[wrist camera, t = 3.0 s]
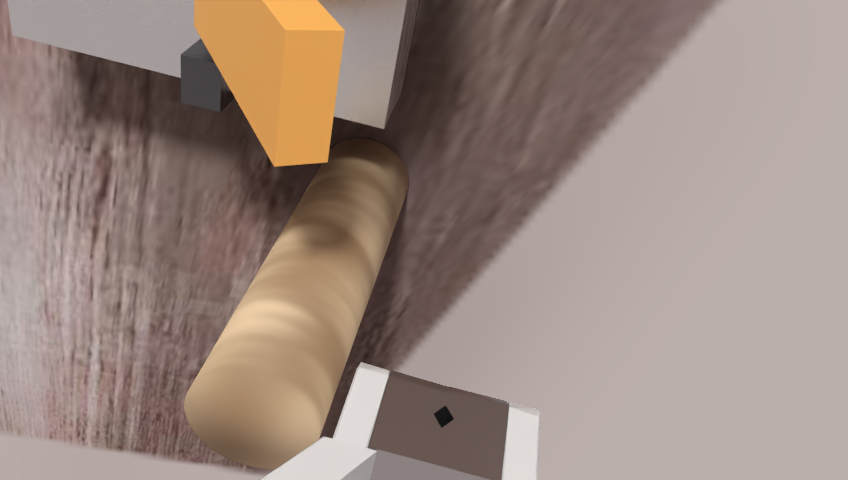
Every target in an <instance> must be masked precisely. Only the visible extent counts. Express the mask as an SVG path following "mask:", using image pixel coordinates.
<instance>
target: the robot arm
mask: <svg viewBox="0 0 848 480" xmlns="http://www.w3.org/2000/svg"><path fill="white" fill-rule="evenodd" d="M539 430H540V413H539V411H538V409H534V408H531V407H527V406H523V405H519V404H515V403H511V402H508V403H507V402H506V401H504V400H500V399H496V398H492V397H488V396H484V395H480V394H476V393H472V392H468V391H464V390H460V389H456V388H453V387H447V386H443V385H440V384H436V383H433V382H429V381H426V380H422V379H419V378H416V377H413V376H409V375H406V374H402V373H399V372H395V371H392V370H391V372H390V370H386V369H383V368H380V367H376V366H373V365H369V364H366V363H363V362H361V363H360V365H359V366H358V368H357V370H356V373H355V376H354V379H353V381H352V384H351V387H350V390H349V393H348V396H347V398H346V401H345V404H344V407H343V410H342V413H341V416H340V418H339V421H338V424H337V427H336V430H335V433H334V435H333V438H328V437H324V436H323V437H322V438H321V439H319V440H318V441H316V442H315V443H313V444H312V445H310V446H309V447H307V448H306V449H304V450H303V451H302V452H300V453H299V454H297V455H296V456H294V457H293V458H291V459H290V460H288V461H287V462H285V463H284V464H283V465H281V466H280V467H278V468H277V469H275V470H274V471H272V472H271V473H269V474H268V475H266V476H265V477H264V478H262V479H261V480H537V475H538V452H539Z"/></svg>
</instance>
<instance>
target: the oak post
mask: <svg viewBox="0 0 848 480" xmlns="http://www.w3.org/2000/svg"><path fill="white" fill-rule="evenodd" d="M408 186H409V178H408V173H407V169H406V167H405V165H404V163H403V161H402V160H401V158H400V157H399V156H398V155H397V154H396V153H395V152H394V151H393V150H392V149H391V148H389V147H388V146H386V145H384V144H383V143H380V142H378V141H375V140H372V139H367V138H353V139H348V140H345V141H342V142H340V143H338V144H337V145H335V146H334V147H333V148H332V149H331V150H330V151H329V156H328V162H326V163H322V164H321V166H320V167H319V169H318V171H317V173H316V174H315V176H314V178H313V179H312V181H311V183H310V185H309V186H308V188H307V190H306V191H305V193H304V195H303V196H302V198H301V200H300V202H299V203H298V205H297V207H296V208H295V210H294V212H293V213H292V215H291V217H290V219H289V220H288V222H287V224H286V225H285V227H284V229H283V231H282V232H281V234H280V236H279V237H278V239H277V241H276V242H275V244H274V246H273V248H272V249H271V251H270V253H269V254H268V256H267V258H266V259H265V261H264V263H263V265H262V266H261V268H260V270H259V271H258V273H257V275H256V277H255V278H254V280H253V282H252V283H251V285H250V287H249V288H248V290H247V292H246V294H245V295H244V297H243V299H242V300H241V302H240V304H239V305H238V307H237V309H236V311H235V312H234V314H233V316H232V317H231V319H230V321H229V323H228V324H227V326H226V328H225V329H224V331H223V333H222V334H221V336H220V338H219V340H218V341H217V343H216V345H215V346H214V348H213V350H212V351H211V353H210V355H209V357H208V358H207V360H206V362H205V363H204V365H203V367H202V369H201V370H200V372H199V374H198V375H197V377H196V379H195V380H194V382H193V384H192V386H191V387H190V389H189V391H188V393H187V394H186V398H185V403H184V409H185V414H186V418H187V420H188V423H189V425H190V426H191V428H192V430H193V431H194V432H195V434H196V435H197V436H198V437H199V438H200V439H201V440H202V441H203V442H204V443H205V444H206V445H207V446H208V447H210V448H211V449H213V450H214V451H215V452H217V453H219V454H220V455H222V456H224V457H226V458H228V459H230V460H232V461H235V462H237V463H240V464H243V465H246V466H250V467H255V468H262V469H277V468H278V467H280V466H281V465H283V464H284V463H285V462H287V461H288V460H290V459H291V458H293V457H294V456H296V455H297V454H299V453H300V452H302V451H303V450H304V449H306V448H307V447H309V446H310V445H312V444H313V443H315V442H316V441H318V440H319V438H320V435H321V432H322V429H323V426H324V424H325V421H326V418H327V415H328V412H329V410H330V407H331V404H332V401H333V398H334V396H335V393H336V390H337V387H338V384H339V382H340V379H341V376H342V373H343V370H344V368H345V365H346V362H347V359H348V357H349V354H350V351H351V348H352V345H353V343H354V340H355V337H356V334H357V331H358V329H359V326H360V323H361V320H362V317H363V315H364V312H365V309H366V306H367V303H368V301H369V298H370V295H371V292H372V289H373V287H374V284H375V281H376V278H377V275H378V273H379V270H380V267H381V264H382V261H383V259H384V256H385V253H386V250H387V248H388V245H389V242H390V239H391V236H392V234H393V231H394V228H395V225H396V222H397V220H398V217H399V214H400V211H401V208H402V206H403V203H404V200H405V197H406V194H407V191H408Z"/></svg>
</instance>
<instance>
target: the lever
mask: <svg viewBox="0 0 848 480" xmlns="http://www.w3.org/2000/svg"><path fill="white" fill-rule="evenodd" d="M194 27H195V28H196V30H197V32H198V34H199V35H200V37H201V39H202V41H203V42H204V44H205V46H206V48H207V50H208V51H209V53H210V55H211V57H212V58H213V60H214V62H215V64H216V65H217V67H218V69H219V71H220V72H221V74H222V76H223V78H224V79H225V81H226V83H227V85H228V86H229V88H230V90H231V92H232V93H233V95H234V97H235V99H236V100H237V102H238V104H239V106H240V108H241V109H242V111H243V113H244V115H245V116H246V118H247V120H248V122H249V123H250V125H251V127H252V129H253V130H254V132H255V134H256V136H257V137H258V139H259V141H260V143H261V144H262V146H263V148H264V150H265V151H266V153H267V155H268V157H269V158H270V160H271V162H272V164H273V166H274V167H277V166H289V165H301V164H313V163H326V162H328V156H329V148H330V140H331V133H332V125H333V118H334V110H335V102H336V95H337V87H338V80H339V72H340V64H341V57H342V49H343V42H344V34H345V30H344V29H343V28H342V27H341V26H340V25H339V23H338V22H337V21H336V20H335V19H334V18H333V17H332V16H331V15H330V14H329V13H328V11H327V10H326V9H325V8H324V7H323V6H322V5H321V4H320V3H319V2H318V0H194Z"/></svg>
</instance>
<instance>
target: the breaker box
mask: <svg viewBox="0 0 848 480" xmlns="http://www.w3.org/2000/svg"><path fill="white" fill-rule="evenodd" d="M318 2H319V3H320V4H321V5H322V6H323V7H324V8H325V9H326V10H327V11H328V13H329V14H330V15H331V16H332V17H333V18H334V19H335V20H336V21H337V22H338V23H339V25H340V26H341V27H342V28H343V29H344V30H345V34H344V42H343V49H342V57H341V64H340V72H339V80H338V87H337V95H336V102H335V110H334V117H338V118H342V119H346V120H350V121H354V122H358V123H362V124H366V125H370V126H373V127H377V128H381V129H384V128H385V126H386V124H387V122H388V120H389V118H390V115H391V113H392V111H393V109H394V107H395V105H396V103H397V101H398V99H399V97H400V95H401V92H402V89H403V83H404V78H405V73H406V68H407V62H408V57H409V52H410V46H411V41H412V36H413V30H414V25H415V20H416V14H417V9H418V4H419V0H318ZM8 7H9V14H10V21H11V28H12V35H13V36H17V37H21V38H25V39H29V40H33V41H37V42H41V43H45V44H49V45H53V46H57V47H61V48H65V49H69V50H72V51H76V52H80V53H84V54H88V55H92V56H96V57H100V58H104V59H108V60H112V61H116V62H120V63H124V64H128V65H132V66H136V67H140V68H144V69H148V70H152V71H156V72H160V73H164V74H168V75H172V76H175V77H179V78H181V103H185V104H189V105H193V106H197V107H200V108H204V109H208V110H212V111H216V112H221V111H222V110H223V109H224V108H225V107H226V106H227V105H228V104H229V103H230V101H231V100H232V99H233V98H234V95H233V93H232V92H231V90H230V88H229V86H228V85H227V83H226V81H225V79H224V78H223V76H222V74H221V72H220V71H219V69H218V67H217V65H216V64H215V62H214V60H213V58H212V57H211V55H210V53H209V51H208V50H207V48H206V46H205V44H204V42H203V41H202V39H201V37H200V35H199V34H198V32H197V30H196V28H195V27H194V0H8Z"/></svg>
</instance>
